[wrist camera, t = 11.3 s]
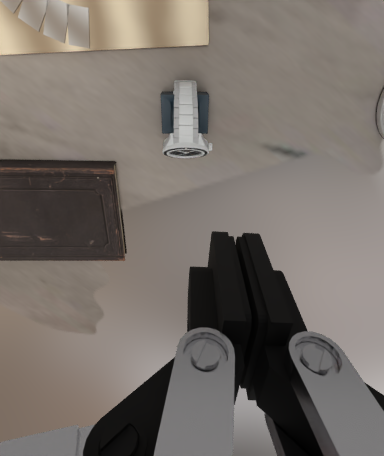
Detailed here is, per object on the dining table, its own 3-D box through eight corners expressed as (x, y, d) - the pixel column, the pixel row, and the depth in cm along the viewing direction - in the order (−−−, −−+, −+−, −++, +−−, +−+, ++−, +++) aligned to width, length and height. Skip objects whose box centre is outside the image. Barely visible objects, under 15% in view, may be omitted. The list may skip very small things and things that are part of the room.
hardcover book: (126, 252, 48) (124, 260, 46) (-14, 252, 47) (-22, 260, 45) (116, 159, 40) (113, 165, 38) (-54, 157, 39) (-66, 162, 37)
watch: (164, 142, 39) (159, 171, 29) (161, 75, 34) (154, 83, 25) (205, 142, 39) (213, 171, 29) (208, 75, 35) (218, 83, 25)
